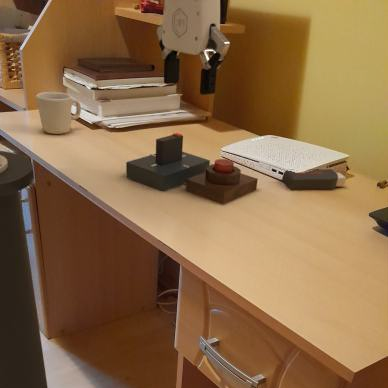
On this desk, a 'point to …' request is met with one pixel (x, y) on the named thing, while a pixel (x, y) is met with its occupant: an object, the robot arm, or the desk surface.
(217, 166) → the button
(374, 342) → the desk surface
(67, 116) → the cup
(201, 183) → the button block
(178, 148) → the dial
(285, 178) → the usb drive
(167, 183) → the panel
